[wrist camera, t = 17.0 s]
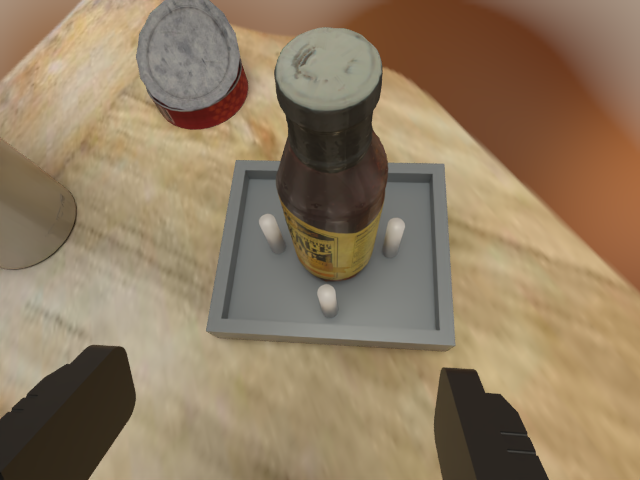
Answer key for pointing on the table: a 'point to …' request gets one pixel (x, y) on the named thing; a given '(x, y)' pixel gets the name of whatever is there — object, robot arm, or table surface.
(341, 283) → the pin tray
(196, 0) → the canned food
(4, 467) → the robot arm
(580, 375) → the table surface
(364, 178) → the sauce bottle
